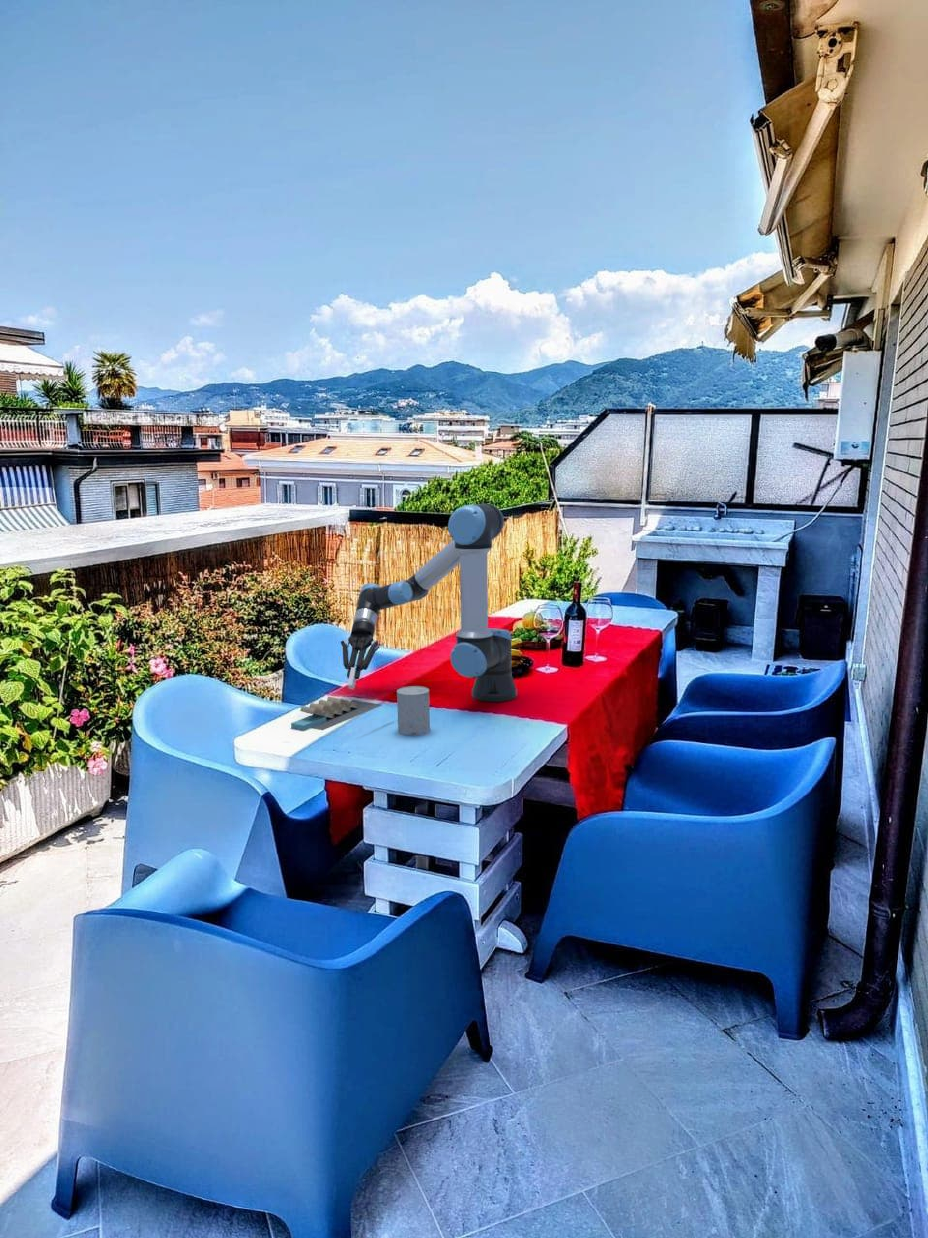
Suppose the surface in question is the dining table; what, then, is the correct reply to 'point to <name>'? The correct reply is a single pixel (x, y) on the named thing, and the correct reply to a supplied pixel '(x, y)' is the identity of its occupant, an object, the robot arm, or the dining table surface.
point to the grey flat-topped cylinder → (413, 710)
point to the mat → (347, 714)
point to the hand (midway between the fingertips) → (350, 687)
